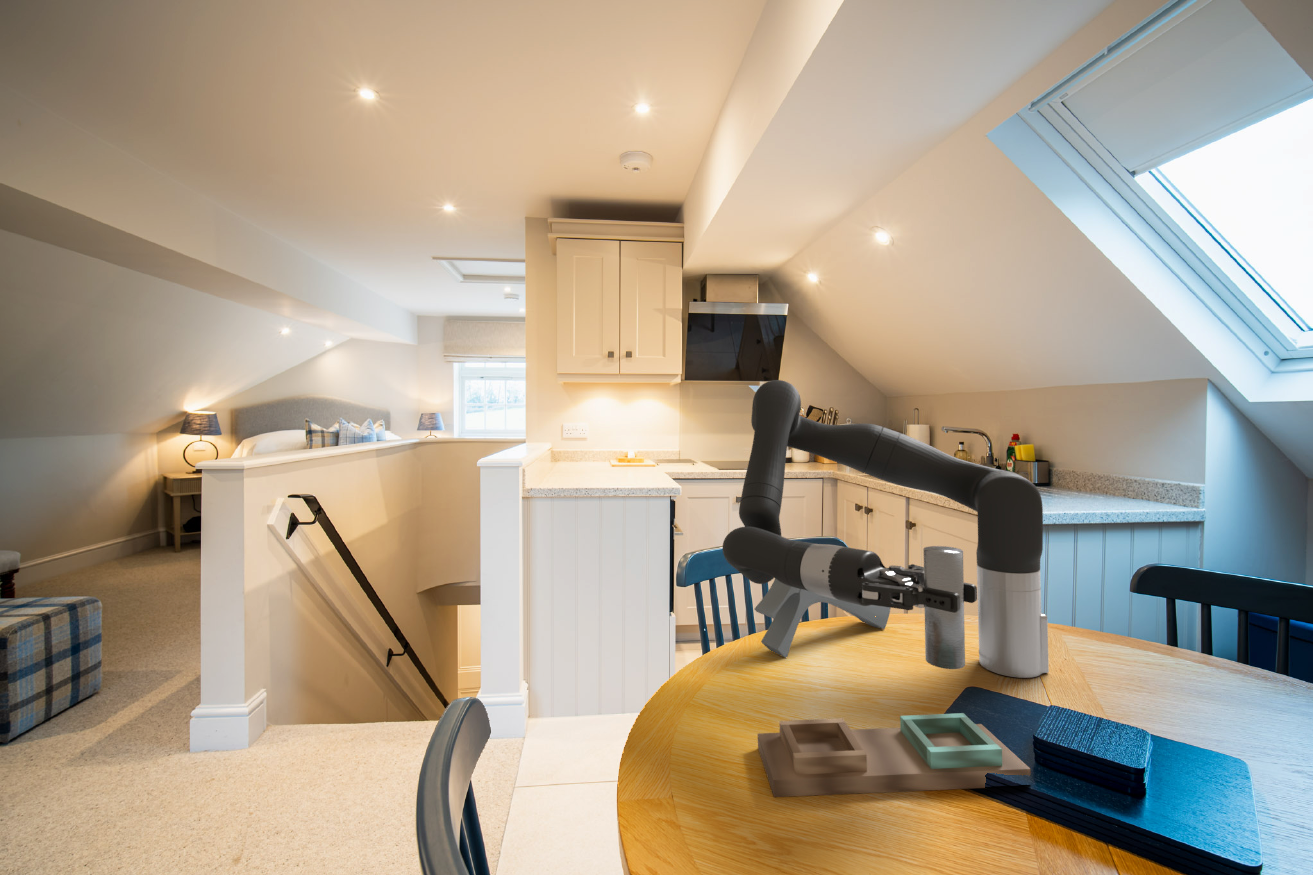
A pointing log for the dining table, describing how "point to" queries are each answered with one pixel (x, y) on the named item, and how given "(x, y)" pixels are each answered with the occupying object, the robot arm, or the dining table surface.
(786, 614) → the grey bent piece
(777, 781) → the brown insertion board
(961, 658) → the peg
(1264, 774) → the dining table surface
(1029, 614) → the robot arm
